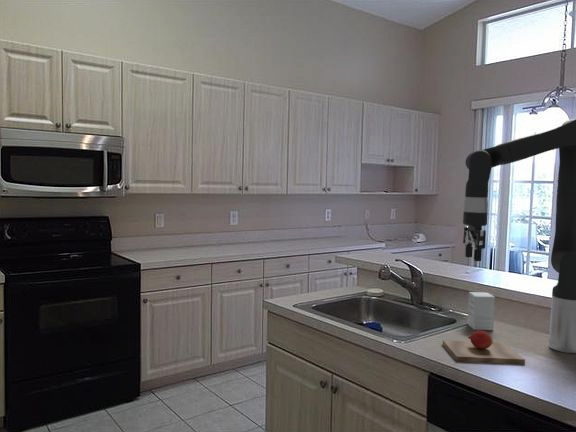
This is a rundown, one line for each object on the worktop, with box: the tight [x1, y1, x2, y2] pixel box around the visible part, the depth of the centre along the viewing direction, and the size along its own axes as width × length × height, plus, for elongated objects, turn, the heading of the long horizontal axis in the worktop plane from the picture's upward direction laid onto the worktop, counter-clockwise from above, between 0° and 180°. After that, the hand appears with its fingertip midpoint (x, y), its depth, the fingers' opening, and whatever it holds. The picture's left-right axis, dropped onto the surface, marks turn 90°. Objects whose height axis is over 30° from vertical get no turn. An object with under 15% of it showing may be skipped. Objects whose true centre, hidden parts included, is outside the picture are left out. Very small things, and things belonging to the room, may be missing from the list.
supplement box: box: [466, 291, 496, 331], centre depth 179 cm, size 7×7×13 cm
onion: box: [467, 330, 493, 349], centre depth 150 cm, size 6×6×8 cm
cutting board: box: [442, 339, 526, 365], centre depth 150 cm, size 20×15×2 cm
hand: (472, 259), depth 161 cm, fingers open, 8 cm apart
